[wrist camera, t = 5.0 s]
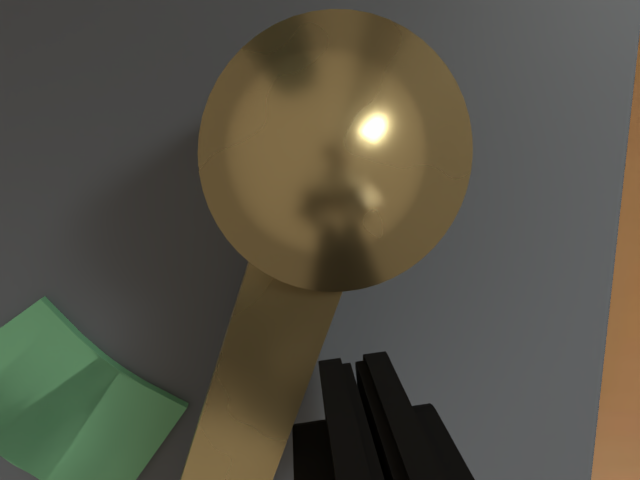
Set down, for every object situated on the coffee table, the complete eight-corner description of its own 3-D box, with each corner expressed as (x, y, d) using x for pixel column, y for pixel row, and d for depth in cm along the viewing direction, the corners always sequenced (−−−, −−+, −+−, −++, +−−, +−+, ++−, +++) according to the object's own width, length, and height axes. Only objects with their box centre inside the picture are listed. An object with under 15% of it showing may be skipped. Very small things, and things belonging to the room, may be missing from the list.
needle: (259, 33, 9) (244, -42, 5) (425, 97, 9) (517, 72, 6) (122, 519, 12) (47, 698, 8) (257, 543, 12) (247, 718, 8)
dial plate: (-347, -322, 8) (-513, -444, 6) (623, -328, 9) (699, -430, 8) (0, 595, 14) (-38, 657, 12) (554, 511, 15) (587, 556, 14)
